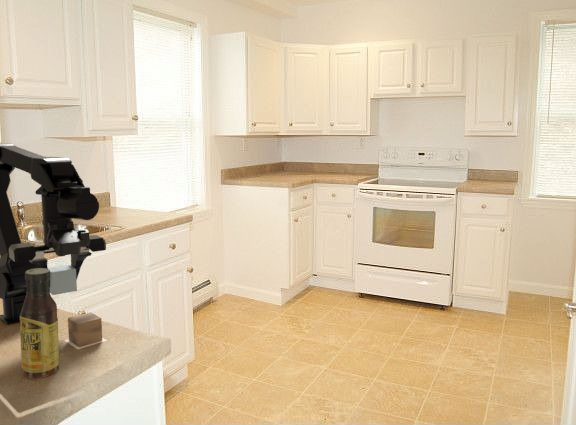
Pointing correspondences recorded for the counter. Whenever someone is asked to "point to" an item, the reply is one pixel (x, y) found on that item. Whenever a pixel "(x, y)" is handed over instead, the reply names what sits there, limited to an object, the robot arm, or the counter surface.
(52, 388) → the counter surface
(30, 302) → the sauce bottle
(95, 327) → the walnut block
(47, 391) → the counter surface
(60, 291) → the bluegrey block
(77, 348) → the pad
